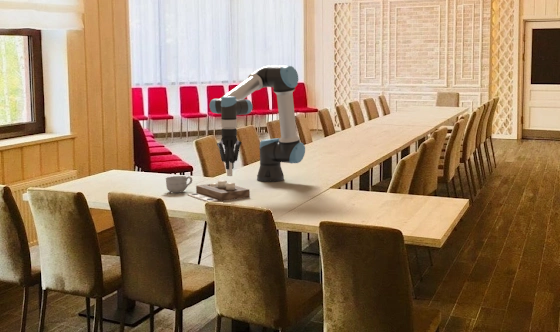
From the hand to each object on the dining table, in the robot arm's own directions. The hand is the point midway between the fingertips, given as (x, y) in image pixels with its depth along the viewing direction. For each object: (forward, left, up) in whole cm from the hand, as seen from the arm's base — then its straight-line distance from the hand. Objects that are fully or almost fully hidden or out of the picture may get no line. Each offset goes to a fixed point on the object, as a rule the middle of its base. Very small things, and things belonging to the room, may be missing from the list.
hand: (229, 175), depth 360 cm
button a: (0, -16, -9) cm, 19 cm away
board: (0, -8, -11) cm, 14 cm away
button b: (0, -8, -7) cm, 11 cm away
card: (+11, -8, -11) cm, 18 cm away
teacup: (+13, -30, -11) cm, 35 cm away
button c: (0, 0, -7) cm, 7 cm away
